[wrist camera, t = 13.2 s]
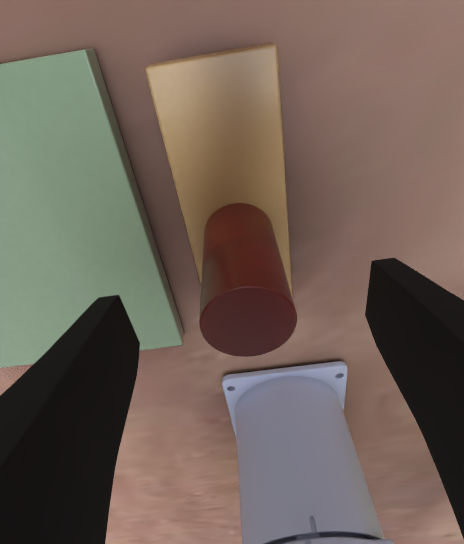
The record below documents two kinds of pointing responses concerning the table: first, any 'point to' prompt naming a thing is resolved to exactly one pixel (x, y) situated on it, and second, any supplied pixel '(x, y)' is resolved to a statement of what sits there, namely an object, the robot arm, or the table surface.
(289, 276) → the brush
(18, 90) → the tile
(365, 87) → the table surface
